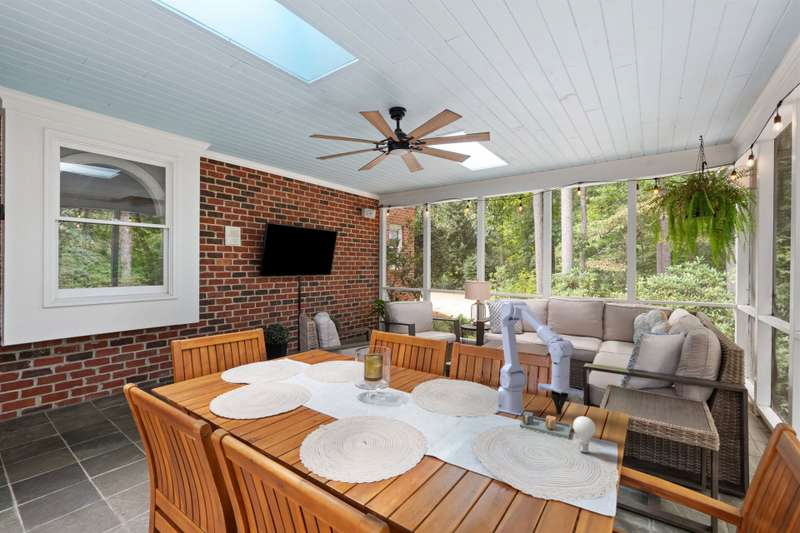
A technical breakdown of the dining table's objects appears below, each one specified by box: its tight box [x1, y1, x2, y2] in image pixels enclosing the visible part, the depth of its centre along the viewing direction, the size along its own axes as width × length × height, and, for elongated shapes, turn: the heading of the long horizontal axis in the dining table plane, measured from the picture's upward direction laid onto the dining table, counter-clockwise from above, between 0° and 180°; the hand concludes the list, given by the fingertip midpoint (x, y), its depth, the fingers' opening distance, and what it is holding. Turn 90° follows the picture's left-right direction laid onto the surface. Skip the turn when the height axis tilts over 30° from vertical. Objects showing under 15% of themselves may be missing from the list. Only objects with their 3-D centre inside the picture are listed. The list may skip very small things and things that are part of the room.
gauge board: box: [519, 410, 573, 440], centre depth 131 cm, size 16×10×4 cm, turn 60°
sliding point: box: [545, 414, 557, 429], centre depth 129 cm, size 3×5×3 cm, turn 150°
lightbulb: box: [572, 415, 597, 454], centre depth 114 cm, size 6×6×11 cm
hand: (559, 413), depth 127 cm, fingers closed
